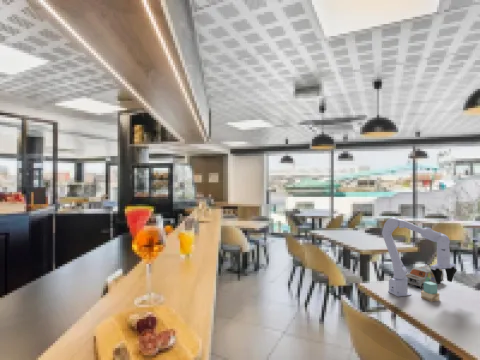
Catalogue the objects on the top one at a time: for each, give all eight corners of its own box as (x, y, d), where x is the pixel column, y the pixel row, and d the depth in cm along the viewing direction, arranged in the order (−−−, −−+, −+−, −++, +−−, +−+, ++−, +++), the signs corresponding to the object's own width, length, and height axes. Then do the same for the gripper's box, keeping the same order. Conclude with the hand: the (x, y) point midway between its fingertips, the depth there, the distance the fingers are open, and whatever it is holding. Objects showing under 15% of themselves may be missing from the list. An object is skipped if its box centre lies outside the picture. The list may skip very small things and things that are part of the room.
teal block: (430, 294, 155) (430, 284, 155) (423, 291, 160) (423, 282, 160) (437, 293, 156) (437, 284, 156) (430, 290, 161) (430, 281, 161)
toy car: (403, 284, 182) (403, 268, 182) (427, 278, 192) (427, 263, 192) (420, 289, 172) (420, 273, 172) (444, 283, 183) (444, 267, 183)
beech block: (431, 302, 154) (431, 294, 154) (421, 298, 160) (421, 290, 160) (439, 300, 156) (439, 293, 156) (429, 296, 162) (429, 289, 162)
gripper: (439, 259, 149) (439, 285, 149) (461, 257, 152) (461, 283, 152) (427, 256, 156) (428, 281, 156) (448, 254, 159) (449, 279, 159)
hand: (443, 282), depth 154 cm, fingers open, 7 cm apart
